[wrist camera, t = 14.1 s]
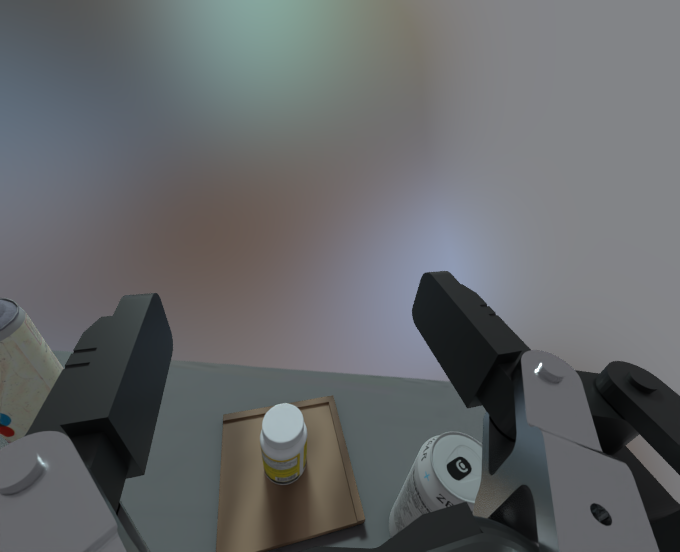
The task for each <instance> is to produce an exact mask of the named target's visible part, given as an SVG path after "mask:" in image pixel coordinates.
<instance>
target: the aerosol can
mask: <svg viewBox="0 0 680 552" xmlns="http://www.w3.org/2000/svg"><path fill="white" fill-rule="evenodd" d="M62 370H63V367H62V366H61V364H60V363H59V361H58V360H57V358H56V357H55V355H54V354H53V352H52V351H51V349H50V348H49V346H48V345H47V343H46V342H45V340H44V339H43V338H42V336H41V334H40V333H39V331H38V330H37V328H36V327H35V326H34V324H33V323H32V321H31V320H30V318H29V317H28V315H27V314H26V312H25V311H24V310H23V309H22V308H21V307H19V305H18V304H17V303H16V302H15V301H13V300H10V299H7V298H0V435H1V436H2V437H3V438H4V439H5V440H6V441H7V442H8V443H12V442H14V441H15V440H17V439H20V438H22V437H24V436H25V435H26V433H27V431H28V430H29V428H30V426H31V425H32V423H33V421H34V419H35V418H36V416H37V414H38V412H39V410H40V409H41V407H42V405H43V403H44V402H45V400H46V398H47V396H48V394H49V393H50V391H51V389H52V387H53V386H54V384H55V382H56V380H57V379H58V377H59V375H60V373H61V371H62Z"/></svg>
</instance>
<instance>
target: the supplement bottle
mask: <svg viewBox="0 0 680 552" xmlns="http://www.w3.org/2000/svg"><path fill="white" fill-rule="evenodd" d="M260 446H261V452H262V459H263V466H264V471H265V474H266V476H267V477H268V478H269V480H271V481H272V482H273V483H275V484H278V485H287V484H291V483H293V482H294V481H296V480H297V479H298V478H299V477H300V476H301V475H302V473H303V471H304V469H305V466H306V461H307V428H306V425H305V423H304V419H303V415H302V413H301V411H300V410H299V409H298V408H297V407H296V406H294V405H291V404H286V403H284V404H278V405H276V406H274V407H272V408H271V409H270V410H269V411H268V412H267V413H266V414H265V416H264V418H263V422H262V430H261V434H260Z"/></svg>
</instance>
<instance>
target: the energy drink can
mask: <svg viewBox="0 0 680 552" xmlns="http://www.w3.org/2000/svg"><path fill="white" fill-rule="evenodd" d="M481 471H482V444H481V443H480V442H478V441H477V440H476V439H474V438H472V437H471V436H469V435H466V434H464V433H460V432H446V433H443V434H441V435H439V436H435V437H433V438H430V439H429V440H428V441H426V442H425V443H424V445H423V446H422V447H421V449H420V451H419V453H418V456H417V458H416V460H415V462H414V464H413V466H412V468H411V470H410V472H409V474H408V476H407V479H406V481H405V483H404V485H403V487H402V489H401V491H400V493H399V495H398V497H397V499H396V502H395V504H394V506H393V508H392V510H391V513H390V517H389V532H390V537H391V538H392V537H393V536H394V535H396V534H397V533H398V532H400V531H401V530H402V529H404V528H405V527H406V526H408V525H409V524H410V523H412V522H413V521H414V520H416V519H417V518H418V517H420V516H421V515H423V514H426V513H429V512H433V511H436V510H439V509H443V508H446V507H449V506H453V505H456V504H459V503H463V502H466V501H467V503H468V505H469V507H470V509H471V511H472V513H473V509H474V503H475V499H476V496H477V493H478V490H479V487H480V483H481Z"/></svg>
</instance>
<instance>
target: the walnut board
mask: <svg viewBox="0 0 680 552" xmlns="http://www.w3.org/2000/svg"><path fill="white" fill-rule="evenodd" d="M287 404H291V405H294V406H296V407H297V408H298V409H299V410H300V411H301V413H302V415H303V419H304V423H305V425H306V428H307V461H306V466H305V469H304V471H303V473H302V475H301V476H300V477H299V478H298V479H297V480H296V481H294V482H293V483H291V484H287V485H278V484H275V483H273V482H272V481H271V480H269V478H268V477H267V476H266V474H265V471H264V466H263V459H262V452H261V446H260V434H261V430H262V422H263V418H264V416H265V414H266V413H267V412H268V411H269V410H270V409H271V408H272V407H274V406H270V407H264V408H259V409H253V410H247V411H241V412H236V413H230V414H224V415H223V435H222V453H221V471H220V489H219V507H218V525H217V543H216V552H266V551H269V550H273V549H276V548H279V547H283V546H286V545H290V544H293V543H297V542H300V541H304V540H307V539H311V538H314V537H318V536H321V535H324V534H328V533H331V532H335V531H338V530H342V529H345V528H349V527H352V526H356V525H359V524H362V523H364V521H365V516H364V513H363V509H362V505H361V501H360V497H359V493H358V489H357V485H356V482H355V478H354V474H353V470H352V466H351V462H350V458H349V455H348V451H347V447H346V443H345V439H344V435H343V431H342V427H341V424H340V420H339V416H338V412H337V408H336V404H335V400H334V397H333V396H327V397H321V398H316V399H310V400H304V401H298V402H293V403H287Z"/></svg>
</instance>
